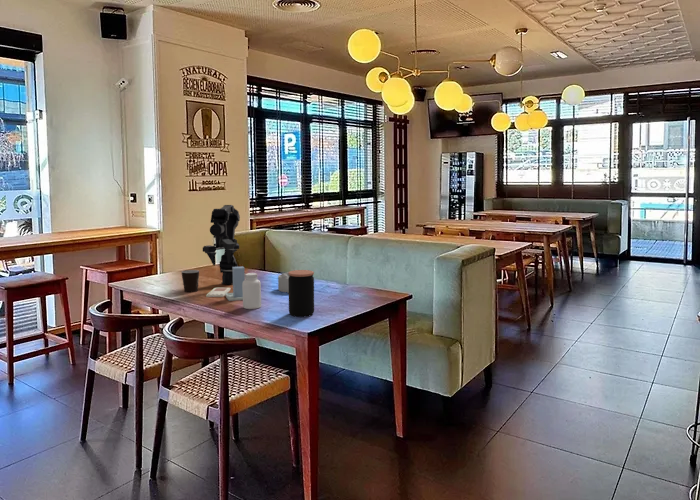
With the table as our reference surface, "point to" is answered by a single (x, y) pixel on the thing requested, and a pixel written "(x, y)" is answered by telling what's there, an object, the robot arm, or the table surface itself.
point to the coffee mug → (190, 280)
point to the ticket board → (218, 292)
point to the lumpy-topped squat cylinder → (283, 282)
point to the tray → (232, 297)
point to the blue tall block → (238, 281)
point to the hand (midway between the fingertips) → (221, 264)
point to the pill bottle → (251, 291)
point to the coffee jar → (301, 293)
